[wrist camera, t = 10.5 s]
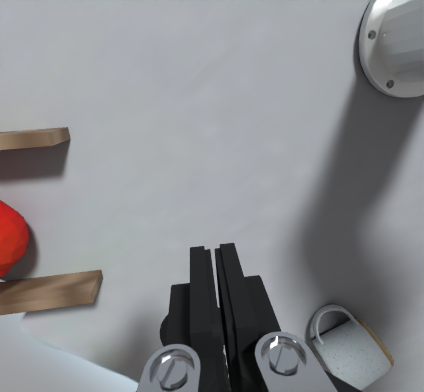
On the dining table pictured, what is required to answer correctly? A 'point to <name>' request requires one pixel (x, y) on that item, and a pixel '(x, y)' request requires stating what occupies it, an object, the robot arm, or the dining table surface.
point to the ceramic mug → (352, 350)
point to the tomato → (11, 237)
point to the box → (51, 285)
